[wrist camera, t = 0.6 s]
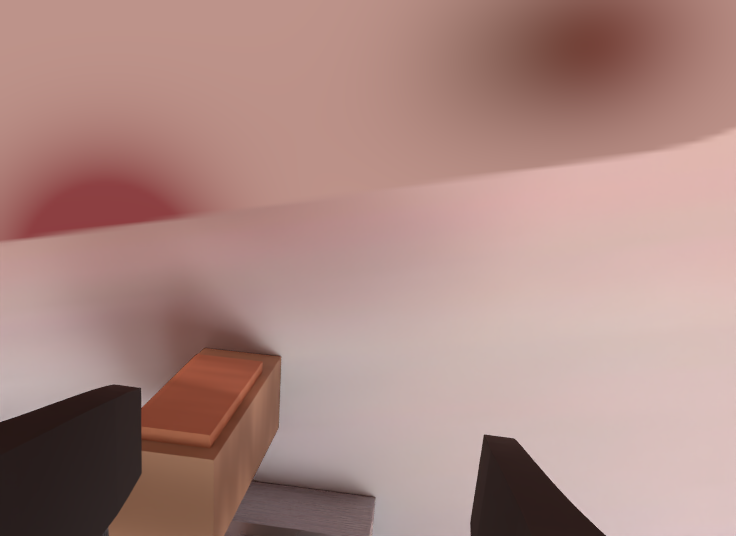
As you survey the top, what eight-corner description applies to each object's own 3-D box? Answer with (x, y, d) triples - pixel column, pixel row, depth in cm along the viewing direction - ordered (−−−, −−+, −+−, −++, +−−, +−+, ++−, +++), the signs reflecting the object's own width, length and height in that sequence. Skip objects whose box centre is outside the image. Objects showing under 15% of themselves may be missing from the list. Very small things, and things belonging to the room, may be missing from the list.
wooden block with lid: (278, 427, 23) (213, 556, 16) (204, 418, 23) (108, 541, 16) (281, 346, 22) (213, 446, 15) (204, 338, 22) (104, 432, 15)
